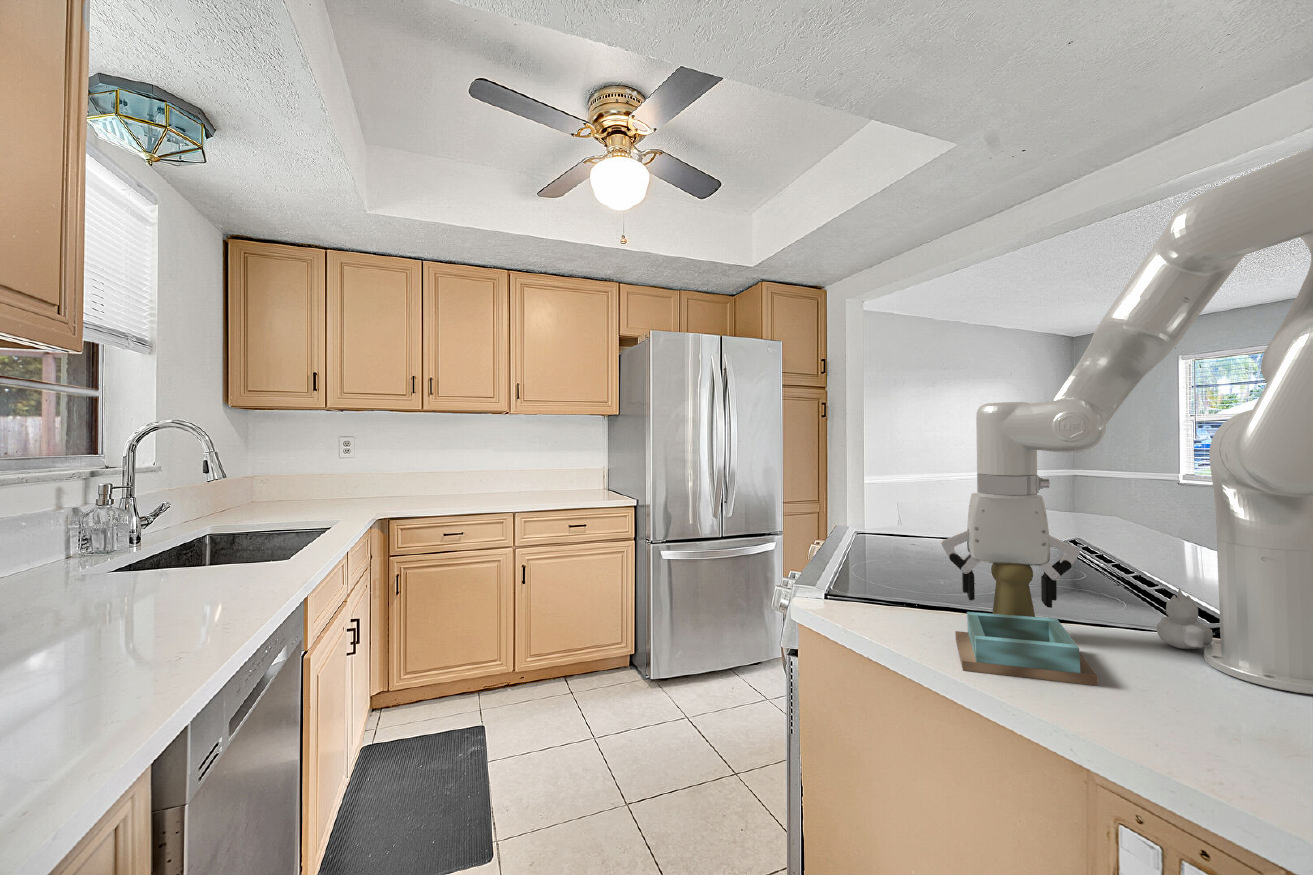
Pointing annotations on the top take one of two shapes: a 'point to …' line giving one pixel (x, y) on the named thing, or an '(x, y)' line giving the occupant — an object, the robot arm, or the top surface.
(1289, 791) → the top surface
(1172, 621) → the rubber duck
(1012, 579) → the cork
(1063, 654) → the board
